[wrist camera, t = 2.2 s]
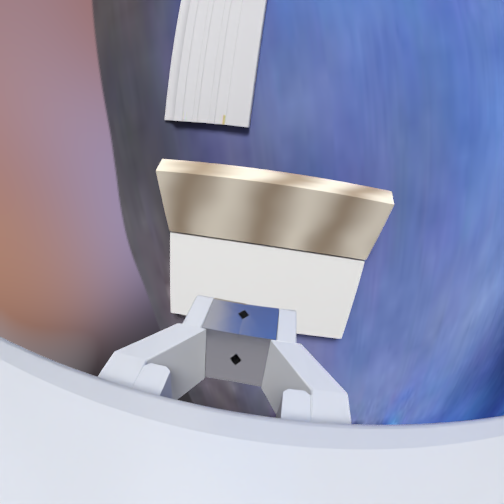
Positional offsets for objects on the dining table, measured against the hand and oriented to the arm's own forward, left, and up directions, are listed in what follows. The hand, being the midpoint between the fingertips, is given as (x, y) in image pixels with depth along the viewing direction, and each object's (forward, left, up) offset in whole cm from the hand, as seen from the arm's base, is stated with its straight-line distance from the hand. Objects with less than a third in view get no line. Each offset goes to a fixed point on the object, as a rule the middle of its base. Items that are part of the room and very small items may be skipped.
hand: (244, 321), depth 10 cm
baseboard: (+8, -20, -24) cm, 32 cm away
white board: (0, +11, -23) cm, 26 cm away
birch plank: (0, +2, -21) cm, 21 cm away
